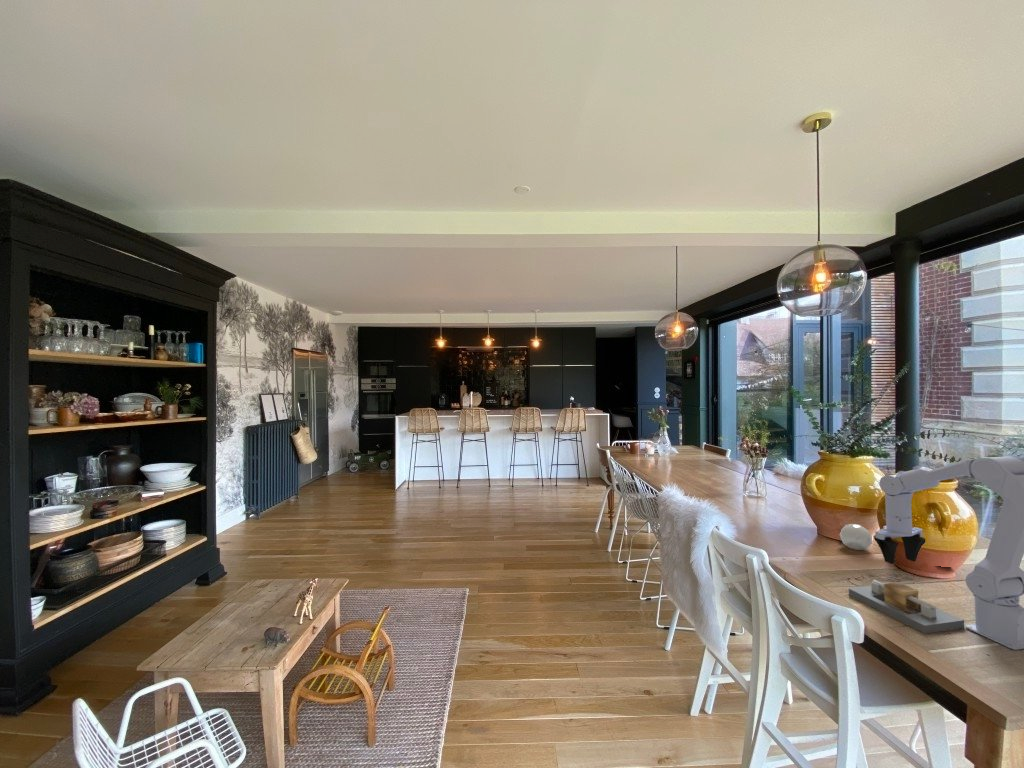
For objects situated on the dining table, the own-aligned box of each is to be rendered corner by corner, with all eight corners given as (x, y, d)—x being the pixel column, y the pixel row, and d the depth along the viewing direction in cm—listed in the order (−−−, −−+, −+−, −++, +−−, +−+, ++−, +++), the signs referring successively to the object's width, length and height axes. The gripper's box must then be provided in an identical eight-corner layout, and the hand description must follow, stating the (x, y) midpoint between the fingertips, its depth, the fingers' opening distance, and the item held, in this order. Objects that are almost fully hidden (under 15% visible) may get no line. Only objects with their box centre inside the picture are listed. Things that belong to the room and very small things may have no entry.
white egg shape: (857, 558, 154) (844, 548, 167) (883, 544, 151) (868, 536, 165) (837, 535, 157) (827, 527, 171) (862, 521, 154) (850, 514, 168)
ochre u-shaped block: (918, 609, 114) (918, 590, 114) (904, 611, 113) (903, 592, 113) (898, 600, 119) (898, 582, 119) (884, 602, 118) (884, 584, 118)
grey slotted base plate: (964, 628, 107) (963, 607, 107) (924, 633, 105) (924, 613, 105) (883, 591, 126) (882, 574, 127) (848, 595, 125) (848, 577, 125)
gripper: (904, 509, 130) (906, 553, 130) (864, 513, 128) (866, 558, 128) (930, 516, 123) (932, 563, 123) (888, 520, 121) (890, 567, 121)
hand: (900, 561), depth 125 cm, fingers open, 7 cm apart
